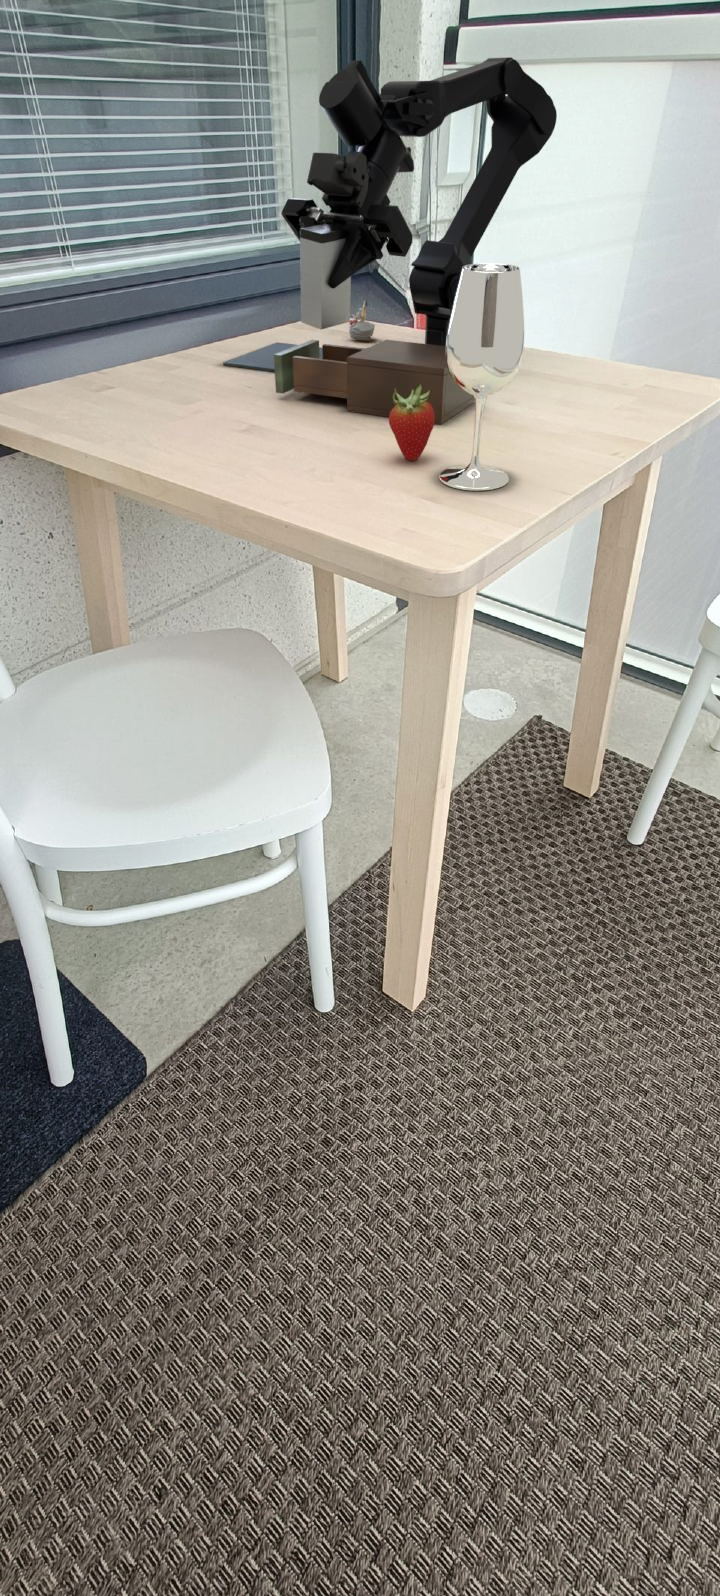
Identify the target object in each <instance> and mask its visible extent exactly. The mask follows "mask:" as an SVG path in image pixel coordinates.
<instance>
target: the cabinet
mask: <svg viewBox="0 0 720 1596" xmlns="http://www.w3.org/2000/svg"><path fill="white" fill-rule="evenodd" d="M445 347H446V346H439V345H430V344H425V343H420V342H411V341H404V340H403V341H402V340H393V339H384V340H382V341H380V342H378V343H376V344H373V345H371V346H368V347H366V349H364V350H362V351H360V352H357V353H355V354H353V355H351V356H348V357H347V398H346V401H347V402H346V404H347V406H346V409H347V412H351V413H357V414H364V415H371V416H372V415H373V416H379V417H384V418H385V417H386V418H389V415H390V412H391V410H392V409H393V408H394V407H395V406H396V405H397V404H395V403H394V402H393V394H394V393H395V390H396V393H397V394H399V395H400V396H401V397H402V398H404V399H405V400H406V398H409V397H410V395H411V392H412V390H414V394H415V391H416V389H417V388H418V386H419V385H420V384H421V387H422V389H421V393H420V396H421V395H423V394H425V393H427V392H428V391H429V390H430V392H429V395H428V396H427V397H428V399H427V397H426V398H425V399H427V400H426V402H428V403H429V404H430V405H431V406H432V408H433V411H434V417H435V420H434V425H443V424H444V423H446V422H447V421H449V420H450V419H452V418H453V417H455V416H456V415H458V414H459V413H461V412H462V411H464V410H466V409H467V408H468V407H470V406H471V405H472V404H475V400H474V396H473V395H471V394H469V393H467V392H466V391H465V390H463V389H462V388H461V387H460V386H459V385H458V384H457V383H456V382H455V381H454V380H453V378H452V376H451V374H450V372H449V371H448V368H447V363H446V352H445ZM394 399H395V400H397V401H399V399H398V398H397V396H396V394H394ZM421 400H424V399H421Z"/></svg>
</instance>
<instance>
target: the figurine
mask: <svg viewBox="0 0 720 1596" xmlns="http://www.w3.org/2000/svg"><path fill="white" fill-rule="evenodd" d="M368 305H369V304H368V301H367V299H365V300H364V302H363V305H362V307H360V308H359V309H358V311H357V312H356V313H355V314H353V313H352V314H351V316H352V318H353V319H350V322H348V323H349V329H348V334H349V337H350V338H351V339H355V340H357V341H365V342H371V341H372V337H373V334H374V332H375V327H376V326H375V324H374V323H371V322H369V321H365V320H366V319H367V311H366V309H367V307H368ZM358 320H359V321H358Z"/></svg>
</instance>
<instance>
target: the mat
mask: <svg viewBox="0 0 720 1596" xmlns="http://www.w3.org/2000/svg"><path fill="white" fill-rule="evenodd" d="M297 345H298V344H294V343H287V342H286V343H285V342H274V343H271V344H269V345H266V346H263V347H261V348H258V349H255V350H252V351H250V352H247V353H245V354H242V355H239V356H237V357H234V358H231V359H228V360H225V361H224V362H223V363H222V365H223V366H226V367H234V368H240V369H241V368H242V369H248V370H249V369H250V370H256V371H257V370H258V371H264V372H265V371H266V372H273V373H275V367H274V354H277V353H279V352H282V351H284V350H287V349H289V348H292V347H294V346H297ZM319 357H320V359H323V352H322V347H320V346H319Z"/></svg>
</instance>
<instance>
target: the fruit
mask: <svg viewBox="0 0 720 1596" xmlns="http://www.w3.org/2000/svg"><path fill="white" fill-rule="evenodd" d="M421 389H422V387H421V384H420V385H419V386H418V388H417V389H416V391H415V394H414V390H412V392H411V395H410V397H409V398H406V400H405V399H404V398H402V397H401V396H400V395H399V394H397V393H396V390H395V393H394V394H396V396H397V398H398V399H399V401H397V400H395V399H394V394H393V402H394V403H395V404H397V405H396V406H395V407H394V408H393V409H392V410H391V412H390V415H389V417H388V423H389V427H390V430H391V431H392V434H393V435H394V438H395V441H396V443H397V446H398V448H399V450H400V452H401V454H402V456H403V457H404V458H405V459H406V460H407V461H411V462H414V461H417V459H419V458H420V457H421V456H422V454H423V452H424V450H425V449H426V447H427V444H428V441H429V439H430V437H431V434H432V431H433V429H434V426H435V424H434V420H435V417H434V411H433V408H432V406H431V405H430V404H429V403H428V402H426V400H427V399H428V397H427V396H428V395H429V392H430V390H429V391H428V392H427V393H425V394H423V395H421V396H420V393H421ZM426 397H427V399H425V398H426ZM421 399H424V400H421Z"/></svg>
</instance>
